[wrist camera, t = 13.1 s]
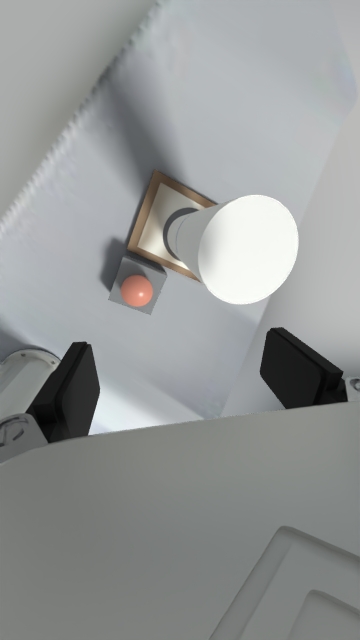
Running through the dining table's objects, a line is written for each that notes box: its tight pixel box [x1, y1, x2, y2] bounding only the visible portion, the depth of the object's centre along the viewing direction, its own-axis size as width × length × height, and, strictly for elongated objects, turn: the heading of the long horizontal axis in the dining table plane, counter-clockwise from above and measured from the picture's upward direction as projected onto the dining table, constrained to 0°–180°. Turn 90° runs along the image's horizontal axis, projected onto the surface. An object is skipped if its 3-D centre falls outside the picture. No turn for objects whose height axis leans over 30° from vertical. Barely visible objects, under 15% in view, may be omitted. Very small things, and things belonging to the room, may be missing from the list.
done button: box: [121, 275, 153, 307], centre depth 36 cm, size 5×5×4 cm
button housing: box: [108, 254, 167, 315], centre depth 38 cm, size 8×8×4 cm
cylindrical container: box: [167, 195, 298, 304], centre depth 26 cm, size 7×7×25 cm
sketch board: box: [127, 170, 215, 283], centre depth 37 cm, size 18×13×1 cm
